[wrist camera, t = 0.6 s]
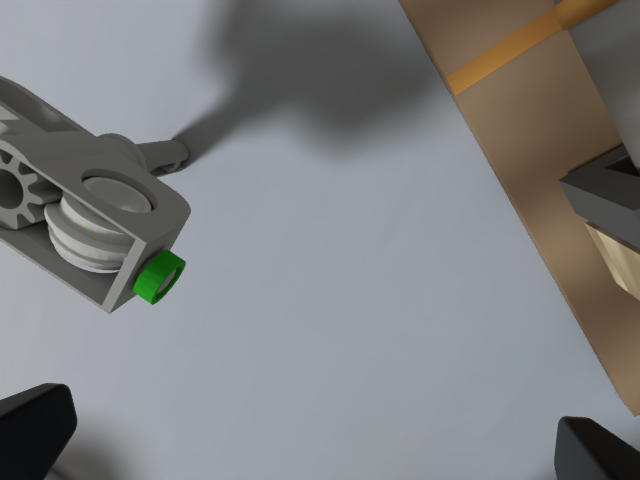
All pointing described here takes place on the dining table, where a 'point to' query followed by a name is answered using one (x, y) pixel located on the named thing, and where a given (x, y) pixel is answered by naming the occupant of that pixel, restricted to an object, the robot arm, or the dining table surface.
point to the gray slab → (608, 194)
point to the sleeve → (618, 258)
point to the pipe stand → (551, 133)
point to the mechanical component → (88, 202)
